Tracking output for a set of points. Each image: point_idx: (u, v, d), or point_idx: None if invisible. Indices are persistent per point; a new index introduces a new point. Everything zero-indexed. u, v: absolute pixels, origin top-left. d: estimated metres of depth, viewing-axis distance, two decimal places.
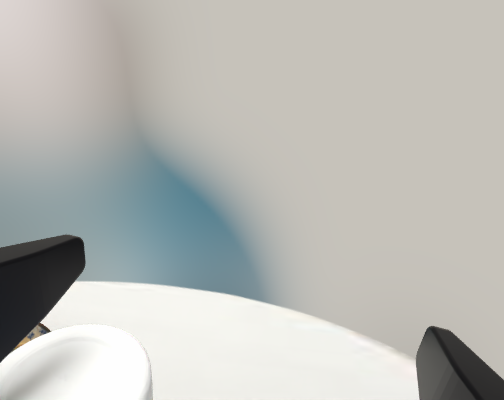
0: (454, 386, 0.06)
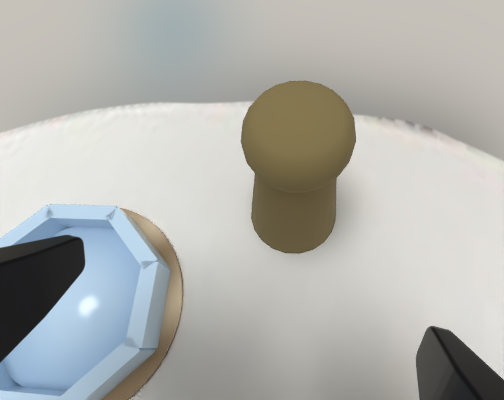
0: (454, 386, 0.06)
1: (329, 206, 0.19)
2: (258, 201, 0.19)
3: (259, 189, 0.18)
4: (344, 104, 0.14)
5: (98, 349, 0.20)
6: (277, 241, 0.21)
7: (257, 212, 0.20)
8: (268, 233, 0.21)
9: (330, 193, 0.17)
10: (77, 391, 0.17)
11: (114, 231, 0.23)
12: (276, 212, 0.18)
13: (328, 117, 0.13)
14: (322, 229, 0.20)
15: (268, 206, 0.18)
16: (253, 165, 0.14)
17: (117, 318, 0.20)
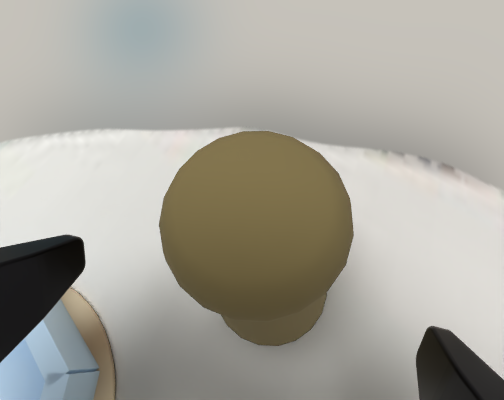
0: (454, 386, 0.06)
1: (315, 301, 0.13)
2: None
3: None
4: (332, 177, 0.08)
5: None
6: (245, 335, 0.15)
7: None
8: (232, 325, 0.15)
9: None
10: None
11: None
12: None
13: (302, 207, 0.07)
14: (306, 322, 0.14)
15: None
16: (176, 279, 0.08)
17: None
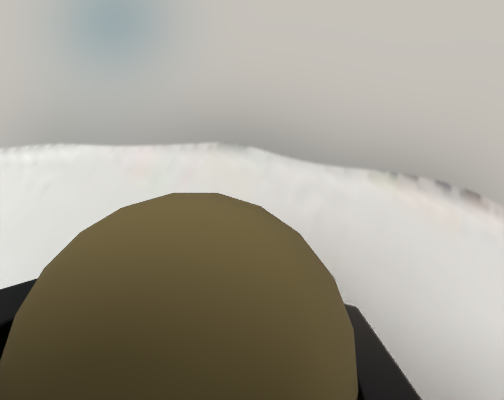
0: None
1: None
2: None
3: None
4: (319, 296, 0.04)
5: None
6: None
7: None
8: None
9: None
10: None
11: None
12: None
13: (253, 381, 0.04)
14: None
15: None
16: None
17: None
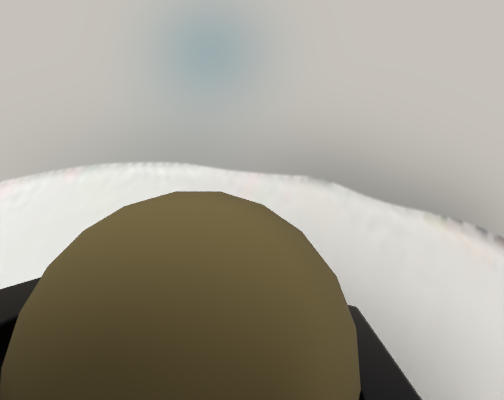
0: None
1: None
2: None
3: None
4: (322, 294, 0.04)
5: None
6: None
7: None
8: None
9: None
10: None
11: None
12: None
13: (256, 378, 0.04)
14: None
15: None
16: None
17: None
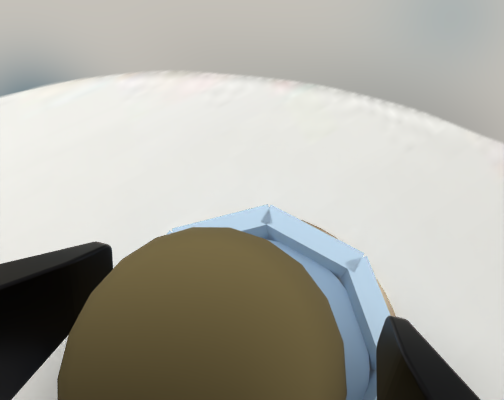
0: (401, 371, 0.06)
1: None
2: None
3: None
4: (314, 318, 0.05)
5: None
6: None
7: None
8: None
9: None
10: None
11: (333, 277, 0.16)
12: None
13: (264, 387, 0.05)
14: None
15: None
16: None
17: None
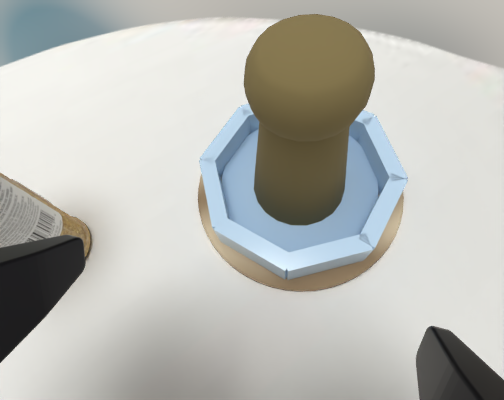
0: (454, 386, 0.06)
1: (340, 167, 0.17)
2: (262, 163, 0.17)
3: (263, 147, 0.16)
4: (361, 36, 0.12)
5: (314, 233, 0.20)
6: (282, 211, 0.19)
7: (261, 178, 0.19)
8: (273, 202, 0.19)
9: (342, 150, 0.16)
10: (305, 255, 0.18)
11: (352, 139, 0.23)
12: (283, 173, 0.16)
13: (344, 47, 0.12)
14: (332, 196, 0.19)
15: (274, 166, 0.16)
16: (258, 108, 0.13)
17: (338, 215, 0.20)
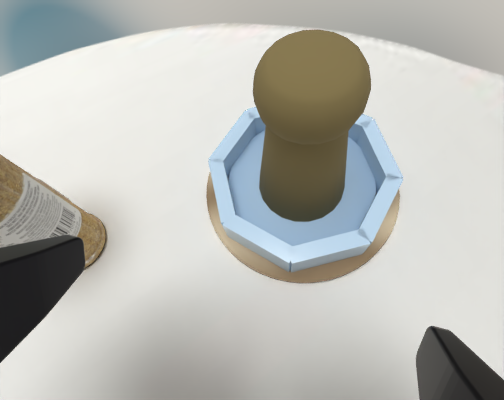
0: (454, 386, 0.06)
1: (340, 168, 0.18)
2: (268, 164, 0.19)
3: (270, 149, 0.17)
4: (359, 50, 0.14)
5: (316, 228, 0.22)
6: (286, 208, 0.21)
7: (266, 177, 0.20)
8: (277, 200, 0.21)
9: (342, 152, 0.17)
10: (307, 249, 0.19)
11: (351, 141, 0.24)
12: (287, 173, 0.18)
13: (343, 61, 0.13)
14: (332, 194, 0.20)
15: (279, 166, 0.18)
16: (266, 114, 0.14)
17: (338, 212, 0.22)
